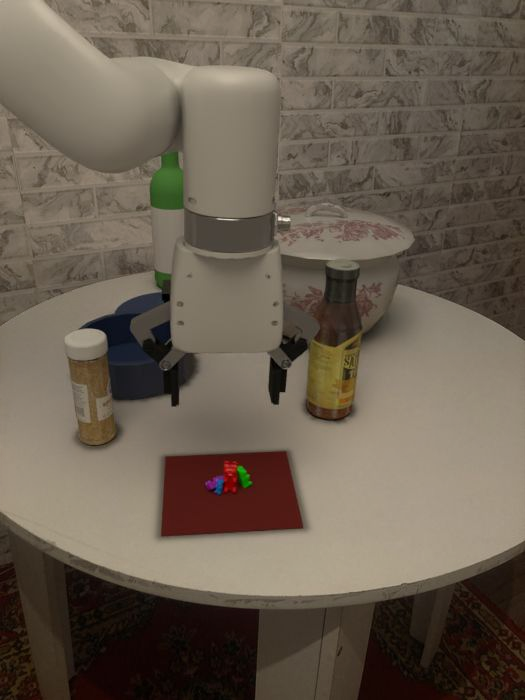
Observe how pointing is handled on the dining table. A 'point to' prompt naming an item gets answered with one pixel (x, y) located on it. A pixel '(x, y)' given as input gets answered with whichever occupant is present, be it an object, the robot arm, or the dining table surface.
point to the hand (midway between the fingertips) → (224, 398)
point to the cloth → (228, 495)
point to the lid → (147, 300)
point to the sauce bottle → (335, 344)
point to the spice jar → (91, 385)
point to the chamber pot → (340, 257)
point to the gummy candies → (229, 479)
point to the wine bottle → (166, 214)
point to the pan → (135, 357)
